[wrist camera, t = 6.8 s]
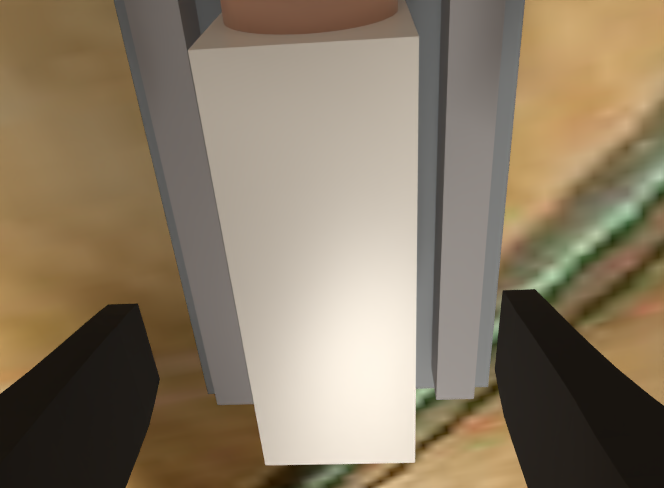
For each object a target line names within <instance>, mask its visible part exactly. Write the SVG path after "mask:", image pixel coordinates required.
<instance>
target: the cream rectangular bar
mask: <svg viewBox="0 0 664 488" xmlns="http://www.w3.org/2000/svg"><path fill="white" fill-rule="evenodd" d="M220 3H221V9H222V12H221V13H220V15H219V16H218V17H217V18H216V19H215V20H214V21H213V22H212V24H211V25H210V26H209V27H208V28H207V29H206V30H205V31H204V33H203V34H202V35H201V36H200V37H199V38H198V39H197V40H196V42H195V43H194V44H193V45H192V46H191V47H190V48H189V49H188V54H189V59H190V65H191V70H192V75H193V81H194V86H195V91H196V97H197V102H198V107H199V113H200V118H201V123H202V129H203V134H204V140H205V145H206V150H207V156H208V161H209V166H210V172H211V177H212V182H213V188H214V193H215V198H216V204H217V209H218V214H219V220H220V225H221V230H222V236H223V241H224V247H225V252H226V257H227V263H228V268H229V273H230V279H231V284H232V289H233V295H234V300H235V305H236V311H237V316H238V321H239V327H240V332H241V337H242V343H243V348H244V353H245V359H246V364H247V370H248V375H249V380H250V386H251V391H252V396H253V402H254V407H255V412H256V418H257V423H258V428H259V434H260V439H261V444H262V450H263V455H264V460H265V465H311V464H364V463H415V400H416V298H417V195H418V92H419V35H418V32H417V30H416V27H415V25H414V22H413V19H412V17H411V14H410V12H409V9H408V6H407V4H406V1H405V0H220Z"/></svg>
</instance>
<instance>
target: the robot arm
mask: <svg viewBox="0 0 664 488" xmlns="http://www.w3.org/2000/svg"><path fill="white" fill-rule="evenodd" d="M495 373H496V378H497V384H498V389H499V394H500V399H501V404H502V409H503V413H504V418H505V421H506V424H507V427H508V430H509V433H510V436H511V439H512V442H513V445H514V448H515V451H516V454H517V457H518V460H519V463H520V466H521V469H522V472H523V475H524V478H525V481H526V484H527V487H528V488H664V406H663V405H662V404H661V403H659V402H658V401H657V400H655V399H654V398H653V397H652V396H650V395H649V394H648V393H647V392H645V391H644V390H643V389H642V388H640V387H639V386H638V385H637V384H636V383H634V382H633V381H632V380H631V379H629V378H628V377H627V376H626V375H625V374H623V373H622V372H621V371H620V370H619V369H618V368H616V367H615V366H614V365H613V364H612V363H611V362H610V361H608V360H607V359H606V358H605V357H604V356H603V355H602V354H601V353H600V352H599V351H598V350H596V349H595V348H594V347H593V346H592V345H591V344H590V343H589V342H588V341H587V340H586V339H585V338H584V337H583V336H582V335H581V334H579V333H578V332H577V331H576V330H575V329H574V328H573V327H572V326H571V325H570V324H569V323H568V322H567V321H566V320H565V319H564V318H563V317H562V316H561V315H560V314H559V313H558V312H557V311H556V310H555V309H554V308H553V307H552V306H551V305H550V304H549V303H548V302H547V301H546V300H545V299H544V298H543V297H542V296H541V295H540V294H539V293H538V292H537V291H536V290H535V289H531V290H503V293H502V303H501V313H500V323H499V333H498V343H497V353H496V363H495ZM159 380H160V378H159V375H158V371H157V368H156V364H155V361H154V358H153V354H152V351H151V347H150V344H149V340H148V337H147V333H146V330H145V326H144V323H143V320H142V316H141V313H140V309H139V306H138V304H113V305H107V306H106V307H105V308H103V309H102V310H101V311H99V312H98V313H97V314H96V315H95V316H93V317H92V318H91V319H90V320H89V321H87V322H86V323H85V324H84V325H83V326H82V327H80V328H79V329H78V330H77V331H76V332H75V333H74V334H72V335H71V336H70V337H69V338H68V339H67V340H65V341H64V342H63V343H62V344H61V345H60V346H58V347H57V348H56V349H55V350H54V351H53V352H51V353H50V354H49V355H48V356H47V357H45V358H44V359H43V360H42V361H41V362H40V363H38V364H37V365H36V366H35V367H34V368H32V369H31V370H30V371H29V372H28V373H26V374H25V375H24V376H23V377H21V378H20V379H19V380H17V381H16V382H15V383H14V384H12V385H11V386H10V387H8V388H7V389H6V390H5V391H3V392H2V393H1V394H0V488H126V485H127V483H128V480H129V477H130V475H131V472H132V470H133V467H134V464H135V462H136V459H137V456H138V454H139V451H140V448H141V446H142V443H143V440H144V438H145V435H146V432H147V430H148V427H149V424H150V420H151V416H152V412H153V408H154V403H155V399H156V394H157V390H158V385H159Z"/></svg>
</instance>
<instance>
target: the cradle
mask: <svg viewBox="0 0 664 488" xmlns="http://www.w3.org/2000/svg"><path fill="white" fill-rule="evenodd" d="M405 1H406V4H407V6H408V9H409V12H410V14H411V17H412V19H413V22H414V25H415V27H416V30H417V32H418V35H419V92H418V195H417V298H416V389H418V388H435V394H436V400H441V399H474V389H475V387H488V380H489V370H490V359H491V349H492V338H493V328H494V317H495V307H496V297H497V286H498V276H499V265H500V255H501V244H502V234H503V224H504V213H505V203H506V192H507V182H508V171H509V161H510V150H511V140H512V130H513V119H514V109H515V98H516V88H517V77H518V67H519V57H520V46H521V36H522V25H523V15H524V4H525V0H405ZM114 4H115V8H116V12H117V16H118V20H119V24H120V29H121V33H122V37H123V41H124V45H125V49H126V54H127V58H128V62H129V66H130V70H131V74H132V79H133V83H134V87H135V91H136V95H137V99H138V104H139V108H140V112H141V116H142V120H143V124H144V129H145V133H146V137H147V141H148V145H149V149H150V154H151V158H152V162H153V166H154V170H155V174H156V179H157V183H158V187H159V191H160V195H161V199H162V204H163V208H164V212H165V216H166V220H167V225H168V229H169V233H170V237H171V241H172V245H173V250H174V254H175V258H176V262H177V266H178V270H179V275H180V279H181V283H182V287H183V291H184V295H185V300H186V304H187V308H188V312H189V316H190V320H191V325H192V329H193V333H194V337H195V341H196V345H197V350H198V354H199V358H200V362H201V366H202V370H203V375H204V379H205V383H206V387H207V391H208V394H215V396H216V400H217V405H239V404H254V402H253V396H252V391H251V386H250V380H249V375H248V370H247V364H246V359H245V353H244V348H243V343H242V337H241V332H240V327H239V321H238V316H237V311H236V305H235V300H234V295H233V289H232V284H231V279H230V273H229V268H228V263H227V257H226V252H225V247H224V241H223V236H222V230H221V225H220V220H219V214H218V209H217V204H216V198H215V193H214V188H213V182H212V177H211V172H210V166H209V161H208V156H207V150H206V145H205V140H204V134H203V129H202V123H201V118H200V113H199V107H198V102H197V97H196V91H195V86H194V81H193V75H192V70H191V65H190V59H189V54H188V49H189V48H190V47H191V46H192V45H193V44H194V43H195V42H196V40H197V39H198V38H199V37H200V36H201V35H202V34H203V33H204V31H205V30H206V29H207V28H208V27H209V26H210V25H211V24H212V22H213V21H214V20H215V19H216V18H217V17H218V16H219V15H220V13H221V12H222V9H221V3H220V0H114Z"/></svg>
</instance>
